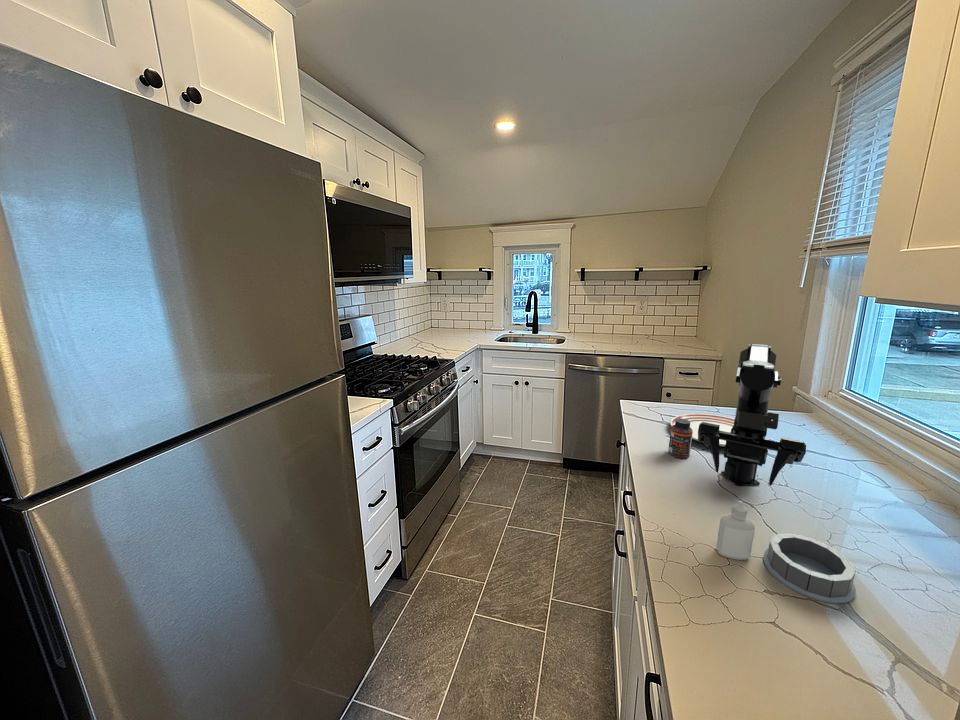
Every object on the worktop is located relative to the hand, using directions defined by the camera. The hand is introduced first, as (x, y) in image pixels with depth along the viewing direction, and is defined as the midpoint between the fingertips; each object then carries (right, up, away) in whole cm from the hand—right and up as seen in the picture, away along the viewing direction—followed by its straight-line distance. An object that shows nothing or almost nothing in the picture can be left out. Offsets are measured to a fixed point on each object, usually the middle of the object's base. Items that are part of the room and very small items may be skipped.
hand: (742, 478), depth 78 cm
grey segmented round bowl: (+6, -15, -8) cm, 18 cm away
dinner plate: (+26, -1, +50) cm, 56 cm away
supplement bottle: (+7, -5, +37) cm, 38 cm away
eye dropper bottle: (-4, -15, -3) cm, 15 cm away
